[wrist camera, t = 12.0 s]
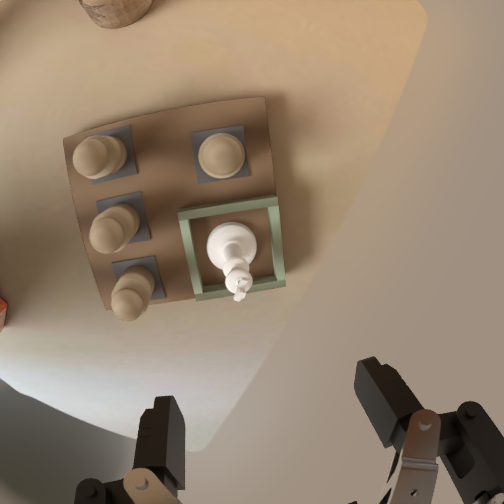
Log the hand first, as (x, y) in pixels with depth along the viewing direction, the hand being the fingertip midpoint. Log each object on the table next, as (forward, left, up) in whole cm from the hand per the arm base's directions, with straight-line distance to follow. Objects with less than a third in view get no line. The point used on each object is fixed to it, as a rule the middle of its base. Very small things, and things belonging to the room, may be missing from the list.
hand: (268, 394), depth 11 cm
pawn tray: (-4, -5, -21) cm, 22 cm away
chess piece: (0, 0, -19) cm, 19 cm away
